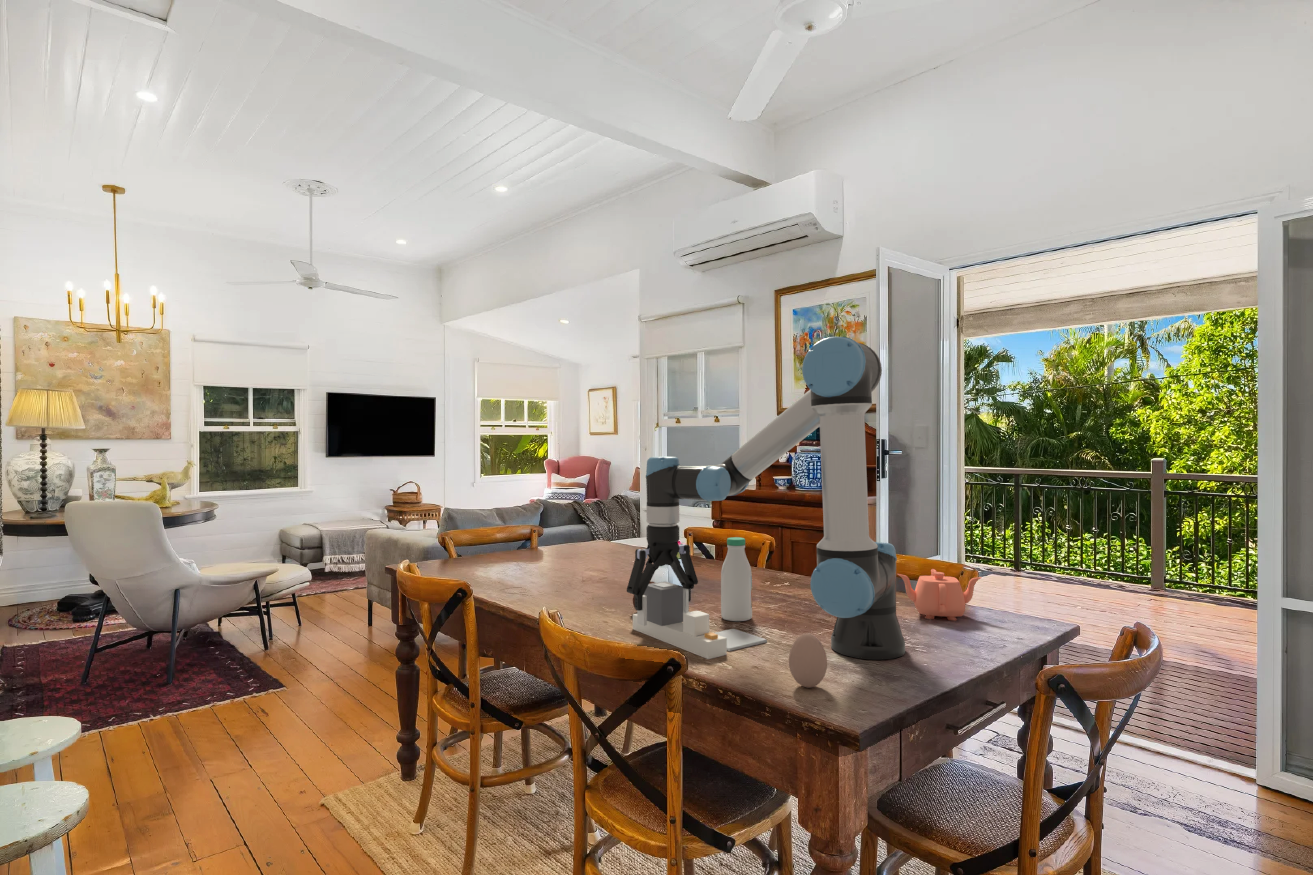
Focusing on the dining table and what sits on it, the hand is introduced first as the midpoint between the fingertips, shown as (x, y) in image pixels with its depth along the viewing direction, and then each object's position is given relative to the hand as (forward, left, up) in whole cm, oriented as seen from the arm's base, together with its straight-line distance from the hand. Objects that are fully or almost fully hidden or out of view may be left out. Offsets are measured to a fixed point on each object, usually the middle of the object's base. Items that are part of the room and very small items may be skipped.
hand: (663, 620), depth 162 cm
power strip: (-5, 0, -4) cm, 6 cm away
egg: (-42, -2, -4) cm, 42 cm away
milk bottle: (+2, -24, -4) cm, 24 cm away
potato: (+20, -11, -4) cm, 23 cm away
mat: (-12, -10, -4) cm, 16 cm away
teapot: (-26, -67, -4) cm, 72 cm away
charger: (0, 0, 0) cm, 0 cm away
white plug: (-12, 0, 0) cm, 12 cm away
